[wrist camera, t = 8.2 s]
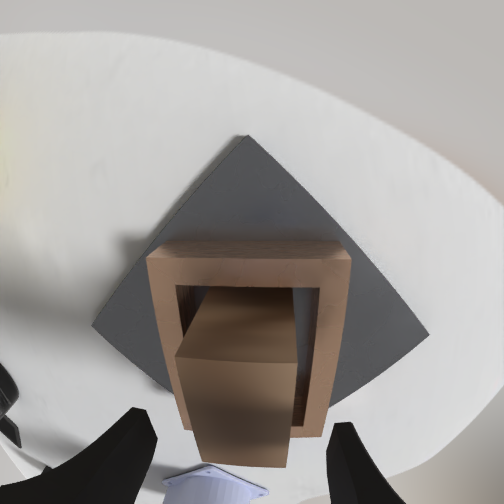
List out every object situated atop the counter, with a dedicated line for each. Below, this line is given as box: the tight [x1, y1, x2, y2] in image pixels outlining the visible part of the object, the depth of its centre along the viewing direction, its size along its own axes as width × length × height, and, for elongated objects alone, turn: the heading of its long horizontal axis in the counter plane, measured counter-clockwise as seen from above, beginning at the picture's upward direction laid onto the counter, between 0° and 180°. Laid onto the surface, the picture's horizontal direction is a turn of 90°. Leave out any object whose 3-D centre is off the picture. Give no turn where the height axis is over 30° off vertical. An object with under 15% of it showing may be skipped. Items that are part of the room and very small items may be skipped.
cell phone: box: [0, 415, 21, 449], centre depth 29 cm, size 7×14×1 cm, turn 146°
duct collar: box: [91, 135, 429, 438], centre depth 15 cm, size 15×15×3 cm
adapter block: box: [174, 286, 298, 468], centre depth 13 cm, size 4×7×6 cm, turn 2°
